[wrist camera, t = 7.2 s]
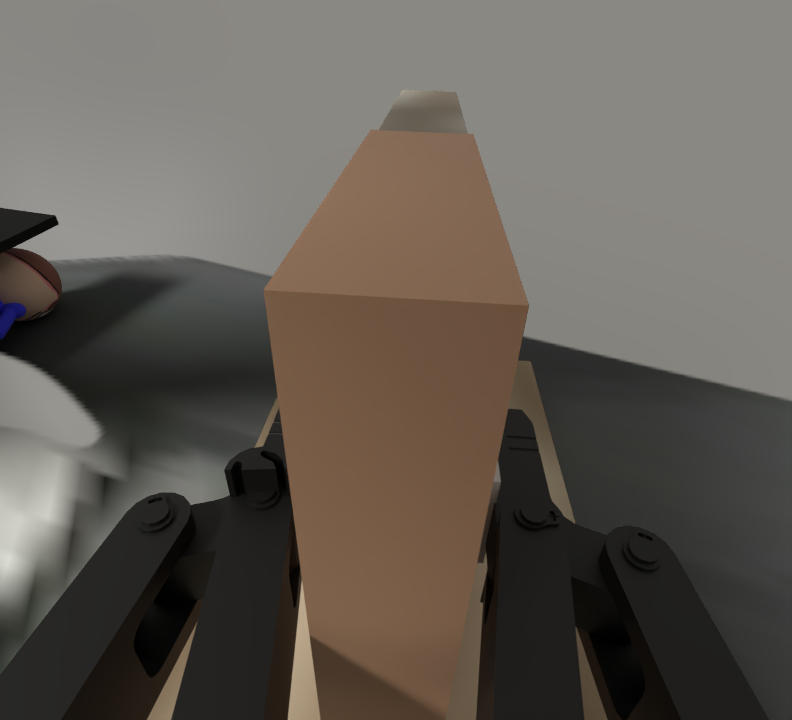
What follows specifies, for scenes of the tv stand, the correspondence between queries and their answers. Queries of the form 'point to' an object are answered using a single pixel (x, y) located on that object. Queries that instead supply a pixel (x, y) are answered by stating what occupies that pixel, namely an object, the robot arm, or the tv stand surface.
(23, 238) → the figurine character
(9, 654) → the tv stand surface
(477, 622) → the stand
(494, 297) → the orange rectangular panel
